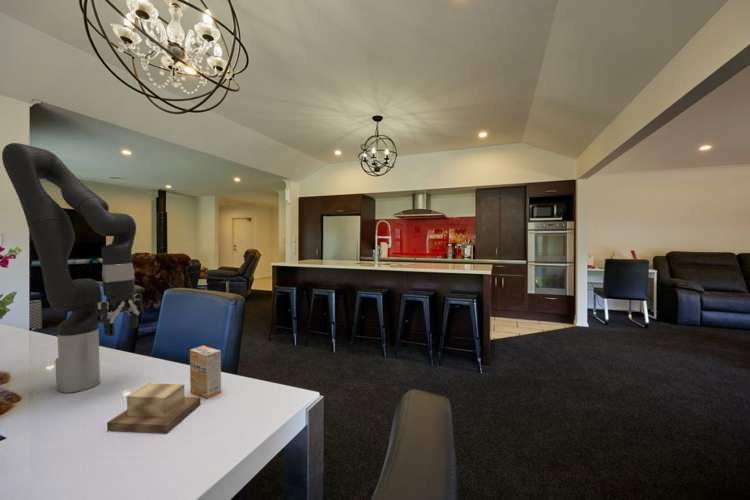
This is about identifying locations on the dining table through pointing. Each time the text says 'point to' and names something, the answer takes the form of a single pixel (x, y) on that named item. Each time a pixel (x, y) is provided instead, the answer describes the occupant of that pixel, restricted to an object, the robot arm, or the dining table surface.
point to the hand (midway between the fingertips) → (122, 331)
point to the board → (153, 419)
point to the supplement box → (205, 371)
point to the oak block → (155, 400)
